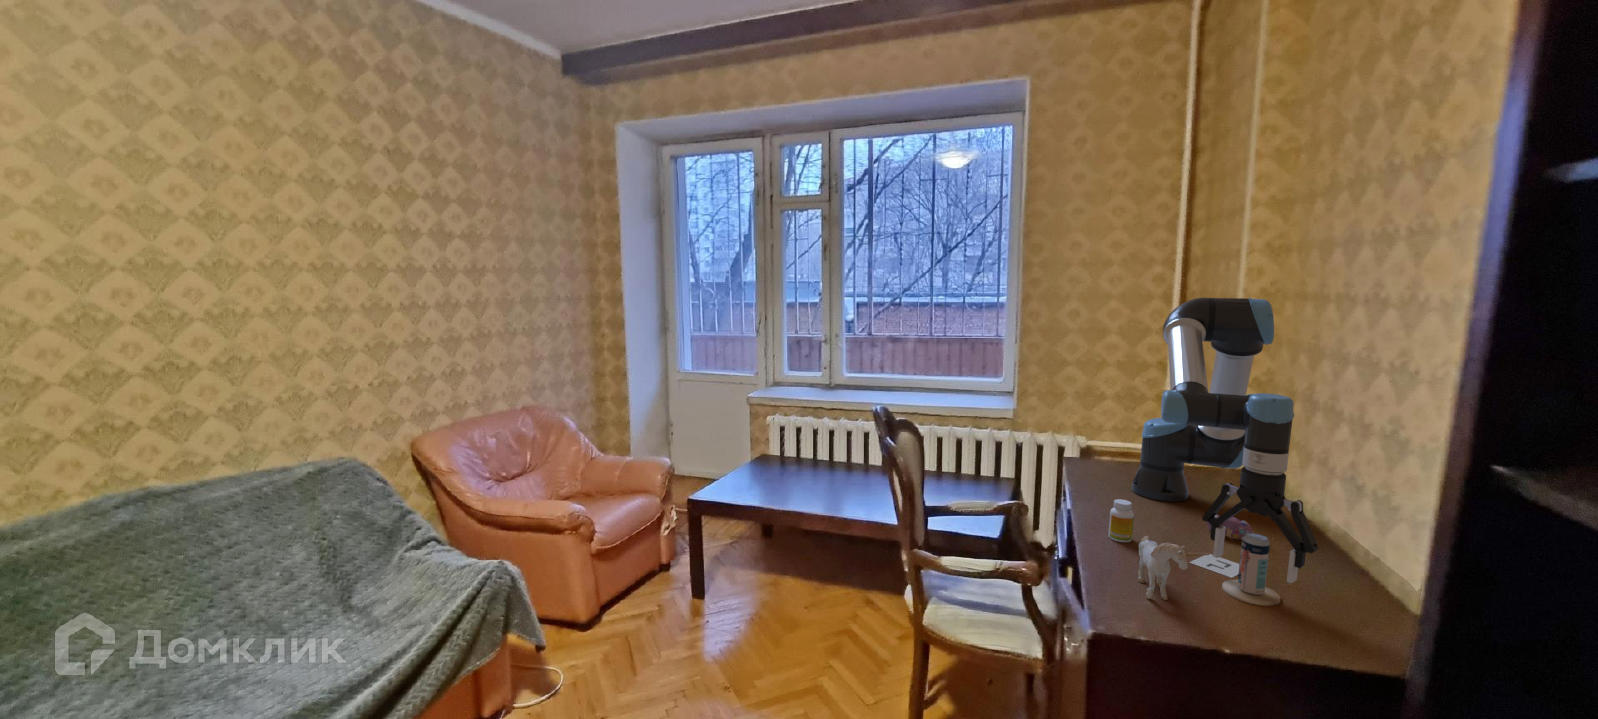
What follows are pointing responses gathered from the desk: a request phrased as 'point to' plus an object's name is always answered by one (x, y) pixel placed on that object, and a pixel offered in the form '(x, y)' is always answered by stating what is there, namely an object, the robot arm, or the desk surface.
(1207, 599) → the desk surface
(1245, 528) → the video game controller
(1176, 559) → the unicorn figurine
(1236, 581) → the cork coaster
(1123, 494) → the desk surface
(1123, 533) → the supplement bottle
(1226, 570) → the tile
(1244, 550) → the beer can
